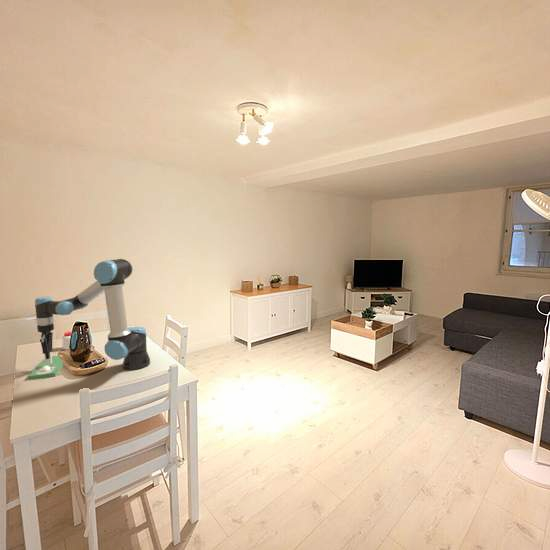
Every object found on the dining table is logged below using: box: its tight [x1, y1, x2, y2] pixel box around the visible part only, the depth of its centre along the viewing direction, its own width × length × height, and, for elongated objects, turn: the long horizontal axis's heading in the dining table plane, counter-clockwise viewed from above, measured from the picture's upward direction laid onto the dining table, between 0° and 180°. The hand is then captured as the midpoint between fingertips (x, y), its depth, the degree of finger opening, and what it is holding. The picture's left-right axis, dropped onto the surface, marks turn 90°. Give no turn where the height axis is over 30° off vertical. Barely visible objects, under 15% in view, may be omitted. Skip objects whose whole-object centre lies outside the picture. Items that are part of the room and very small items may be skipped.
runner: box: [28, 354, 64, 381], centre depth 177 cm, size 12×28×2 cm, turn 21°
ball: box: [41, 366, 51, 372], centre depth 169 cm, size 4×4×4 cm
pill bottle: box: [61, 331, 72, 350], centre depth 207 cm, size 8×8×11 cm
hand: (48, 363), depth 174 cm, fingers closed
